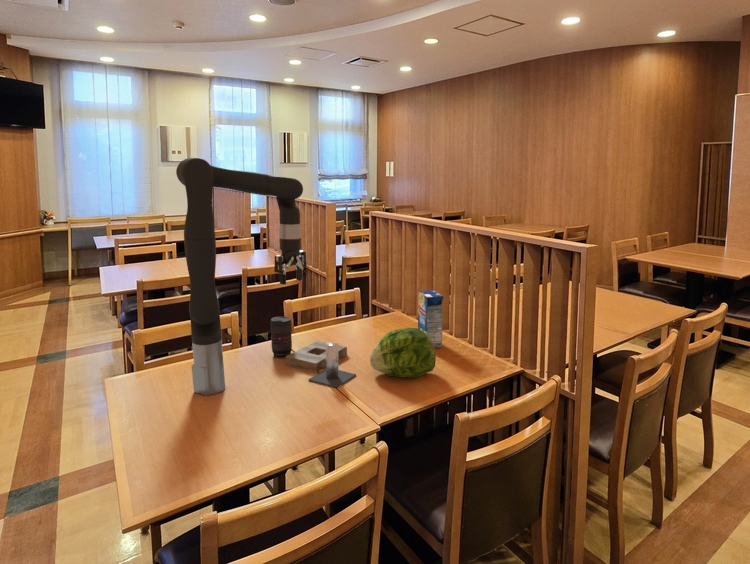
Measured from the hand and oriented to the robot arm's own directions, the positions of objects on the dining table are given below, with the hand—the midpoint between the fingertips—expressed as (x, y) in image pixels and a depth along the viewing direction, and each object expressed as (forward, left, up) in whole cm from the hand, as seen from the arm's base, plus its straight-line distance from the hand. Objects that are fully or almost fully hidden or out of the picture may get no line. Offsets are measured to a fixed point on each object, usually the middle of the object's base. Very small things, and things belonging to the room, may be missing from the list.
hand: (291, 282), depth 176 cm
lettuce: (+15, -37, -33) cm, 52 cm away
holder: (+11, -2, -33) cm, 35 cm away
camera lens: (+8, +13, -33) cm, 36 cm away
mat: (0, -17, -33) cm, 37 cm away
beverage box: (+49, -32, -33) cm, 67 cm away
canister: (0, -17, -32) cm, 36 cm away
